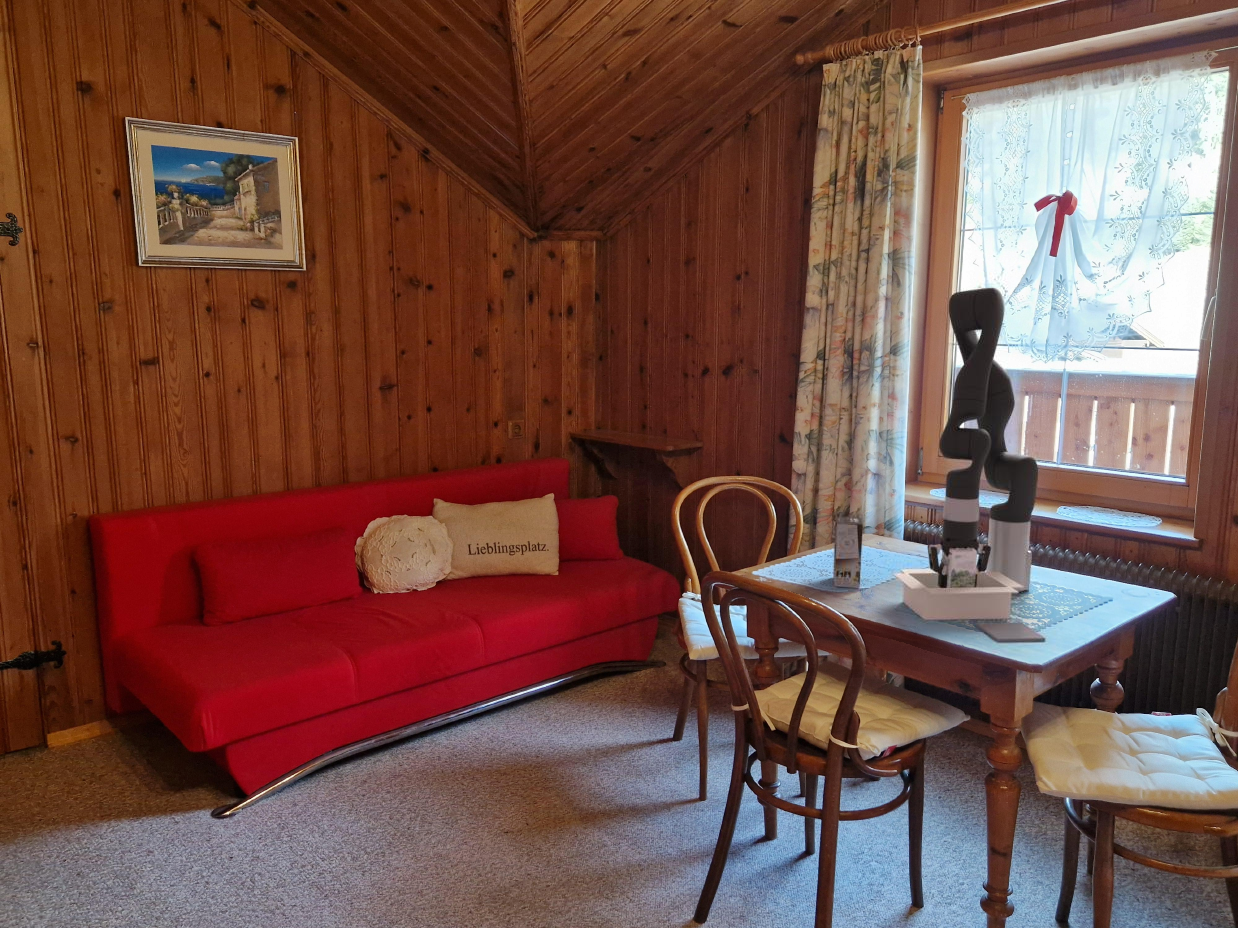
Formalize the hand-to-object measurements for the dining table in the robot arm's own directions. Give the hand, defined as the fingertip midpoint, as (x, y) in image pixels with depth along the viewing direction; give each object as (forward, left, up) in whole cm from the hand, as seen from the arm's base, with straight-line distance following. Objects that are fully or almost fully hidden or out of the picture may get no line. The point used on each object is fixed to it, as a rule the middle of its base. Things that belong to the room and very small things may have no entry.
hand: (956, 589), depth 207 cm
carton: (0, 0, -5) cm, 5 cm away
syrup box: (0, 0, -5) cm, 5 cm away
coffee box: (+18, -23, -5) cm, 30 cm away
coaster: (-5, +16, -5) cm, 17 cm away
